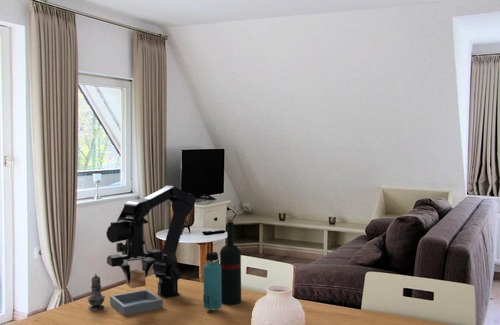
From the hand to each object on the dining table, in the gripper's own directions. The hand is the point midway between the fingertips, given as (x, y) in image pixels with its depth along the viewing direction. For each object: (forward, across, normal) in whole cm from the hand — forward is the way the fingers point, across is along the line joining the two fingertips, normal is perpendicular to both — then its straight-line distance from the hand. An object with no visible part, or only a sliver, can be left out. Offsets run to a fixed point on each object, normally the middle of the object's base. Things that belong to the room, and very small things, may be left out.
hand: (135, 281), depth 184 cm
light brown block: (+1, 0, 0) cm, 1 cm away
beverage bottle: (+9, -20, +19) cm, 29 cm away
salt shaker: (+9, +12, -6) cm, 16 cm away
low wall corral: (+9, 0, 0) cm, 9 cm away
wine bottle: (+9, -31, +13) cm, 35 cm away
